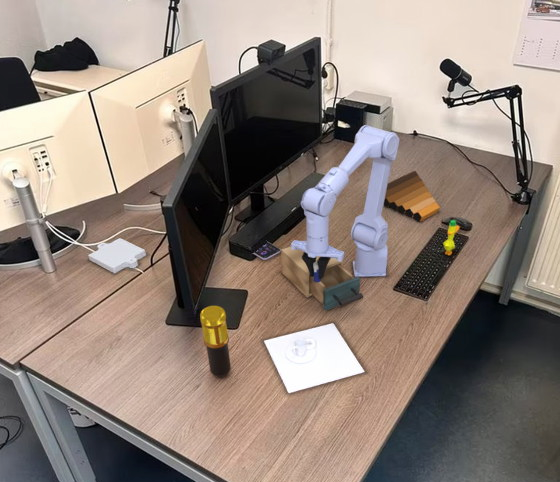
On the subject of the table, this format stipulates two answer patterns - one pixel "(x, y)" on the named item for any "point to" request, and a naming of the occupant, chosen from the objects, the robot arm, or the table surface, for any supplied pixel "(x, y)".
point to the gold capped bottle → (216, 340)
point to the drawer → (336, 288)
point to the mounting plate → (117, 255)
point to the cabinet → (299, 268)
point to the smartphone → (267, 251)
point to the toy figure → (450, 237)
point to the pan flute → (410, 197)
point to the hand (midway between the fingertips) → (317, 276)
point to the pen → (316, 272)
